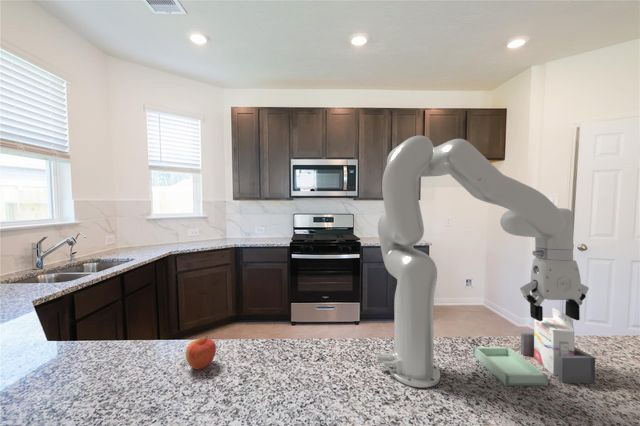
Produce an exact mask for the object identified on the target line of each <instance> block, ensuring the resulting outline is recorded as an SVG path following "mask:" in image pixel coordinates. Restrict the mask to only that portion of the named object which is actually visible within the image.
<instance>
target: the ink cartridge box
mask: <svg viewBox="0 0 640 426" xmlns="http://www.w3.org/2000/svg"><path fill="white" fill-rule="evenodd" d="M551 313H552V317H543V320H542V321H538V320H536V319H534V318H533V319H534V320H533V333H534V355H533V358H534V359H535V360H536V361H538V362H539V363H540V365H542V366H543V367H544V368H545V369H546V370H547V371H548V372H549V373H550V374H552V375H553V376H558V374H559V356H574V347H575V328H574V327H575V326H574V319H572V318H570V317H568V316H567V315H566V313H563V312H561V311H560V310H558V309H556V308H554V307H552V308H551ZM561 317H562V318H561Z"/></svg>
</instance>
